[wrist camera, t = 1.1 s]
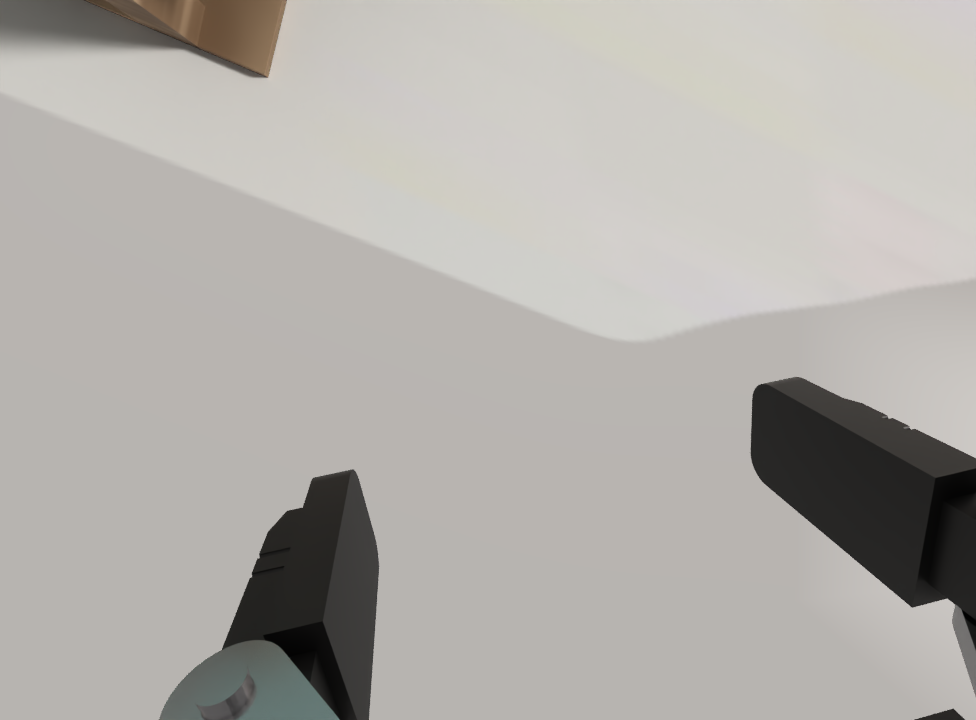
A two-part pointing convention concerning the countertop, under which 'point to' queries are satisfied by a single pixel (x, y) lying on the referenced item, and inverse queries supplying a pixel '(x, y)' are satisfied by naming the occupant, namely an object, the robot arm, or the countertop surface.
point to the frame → (212, 25)
